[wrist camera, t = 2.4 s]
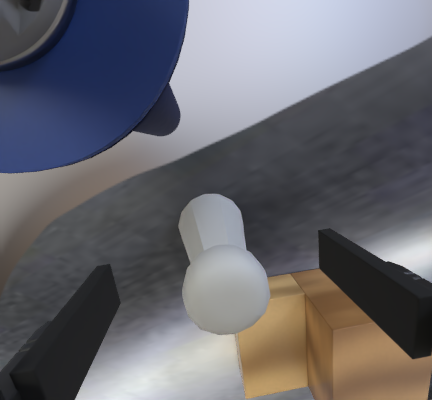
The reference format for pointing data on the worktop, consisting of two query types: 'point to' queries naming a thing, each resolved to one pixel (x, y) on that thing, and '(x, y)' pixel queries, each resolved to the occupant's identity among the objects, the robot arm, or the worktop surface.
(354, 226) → the worktop surface
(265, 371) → the stepped wooden block
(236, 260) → the salt shaker
